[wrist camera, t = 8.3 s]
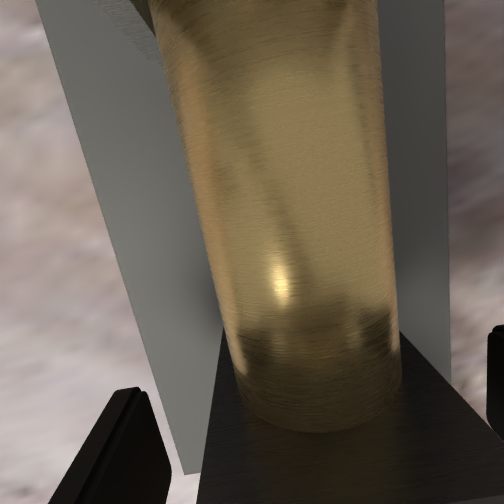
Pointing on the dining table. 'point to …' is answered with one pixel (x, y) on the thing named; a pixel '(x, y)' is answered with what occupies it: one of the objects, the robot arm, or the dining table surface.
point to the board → (184, 209)
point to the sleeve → (134, 25)
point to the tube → (308, 265)
